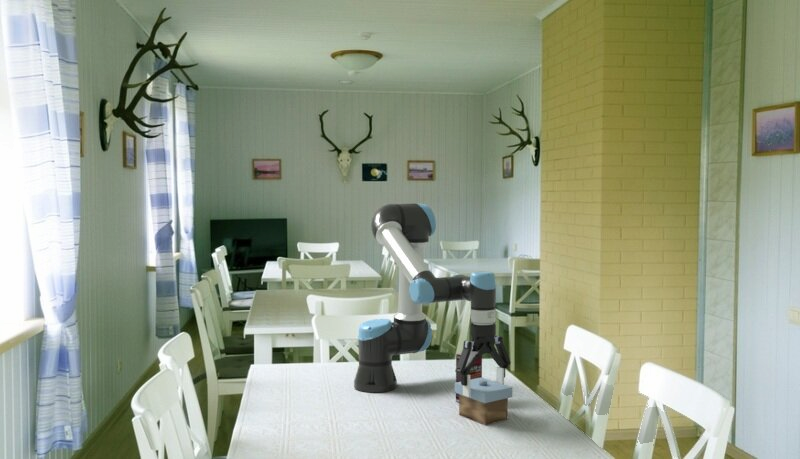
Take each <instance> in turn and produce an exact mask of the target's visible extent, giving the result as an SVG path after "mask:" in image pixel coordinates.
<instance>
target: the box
mask: <svg viewBox="0 0 800 459" xmlns="http://www.w3.org/2000/svg"><path fill="white" fill-rule="evenodd" d="M508 399H509V398H506V399H502V400H497V401H493V402H489V403H483V402H480V401H477V400H474V399H472V398H469V397H466V396H463V395H460V394H459V402H458V406H459V407H458V409H459V410H458V416H461V417H463V418H466V419H468V420H470V421H473V422H476V423H479V424H481V425H484V426H489V425H492V424H495V423H500V422H504V421H508V419H509V416H508V415H509V414H508V409H509V406H508V404H509V403H508V402H509V400H508Z"/></svg>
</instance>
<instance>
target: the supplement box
mask: <svg viewBox="0 0 800 459" xmlns="http://www.w3.org/2000/svg"><path fill="white" fill-rule="evenodd" d="M475 352H476V351H475ZM461 353H462V352H460V353H456V354H455V355H456V356H455V360H456V361H455V368H456V367H457V364H458V361H459V359H460V356H461ZM468 374H469V375H470V380H471V379H476V378H481V377H482V378H483V354H481V355H480V356H479V357H478V358H477V359H476V361H475V363H474V365H473V366H472V368H471V370H470V372H469V373H468ZM456 382H461V374H460V373H456V372H455V383H456ZM455 402H457V403H459V394H458V393H455Z"/></svg>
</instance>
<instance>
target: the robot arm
mask: <svg viewBox="0 0 800 459" xmlns="http://www.w3.org/2000/svg"><path fill="white" fill-rule="evenodd" d="M370 224H371V225H370V227H371V232H372V235H373V237H374V238H375V240H376V242H377V243H378V244H380V245H381V246H384V248H385V249H386V251H387V253H388V254H389V255H390V256H391V258H392V259H393V260H394V263H395V264H396V265H397V266H398V268H399V270H398V272H399V274H398V276H399V277H398V301H397V302H398V303H397V304H398V305H397V307H398V308H397V309H398V310H397V311H396V313H394V315H393V321H392V320H391V319H388V318H375V319H370V320H368V321H367V320H366V321H364V322H362V323H361V324H360V326H358V335H357V339H358V367H357V371H356V374H355V377H354V380H353V387H354V390H357V391H360V392H364V393H385V392H389V391H393V390H395V389H397V387H398V380H397V377H396V374H395V371H394V367H393V361H392V360H393V359H392V358H393V356H398V355H407V354H417V353H420V352H424V351H426V350H427V349H428V348H429V346H430V344H431V342H432V338H433V329H432V328H431V327H432V324H431V323H430V322H429V320H428V319H427V316H426V315H425V313H423V304H424V305H425V304H436V303H443V302H454V301H455V302H457V301H468V302H470V322H471V323H470V335H471V338H472V339H471V341H470V340H469V341H468V340H463V346H462V351H461V352H460V353H461V356H460V359H459V361H458V364H457V367H456V366H455V370H454V371H455V374H456V373H460V374H461V384H462V385H463V395H464V396H467V397H471V389H470V375H469V374H468V373H469V372H470V370H471V368H472V366H473V365H474V363H475V361H476V359H477V358H478V357H479V356H480V355H481V354H482V355H485V354H489V355H490V357H491V358H493V361H494V362H495V364H496V365H497V366H496V368H495V369H496V370H495V371H496V376H495V377H496V378H495V380H496V381H495V382H498V383H501V384H504V385H505V378H506V369H508V368H509V365H511V362H512V361H511V360H510V357H509V355H508V352H507V350H506V347H505V344H504V340H503V339H504V338H503V336H500V335H497V327H496V326H497V325H496V323H495V322H496V321H497V319H496V315H497V314H496V313H497V312H496V304H497V302H496V299H497V298H496V293H497V292H496V290H497V289H496V287H497V284H496V275H495V274H494V272H492V271H472V272H471V273H470V276H469V275H464V274H454V275H452V276H444V277H443V276H442V277H436V275H434V273H433V272H432V271H431V270H430V268H429V267H428V265H427V264H426V263H425V261H424V260H425V258H424V257H425V246H426V245H427V244H428V243H429V242H430V241H429V239H430V238H429V237H431V236H433V235H434V233H435V231H436V229H437V220H436V216H435V212H434V211H433V210H432V208H431V207H430V206H429V205H428V204H425V203H418V202H417V203H416V202H415V203H413V202H412V203H411V202H410V203H389V204H385V205H382V206H381V207H379V208H378V209H377V210H376V212H374V214H373V217H372V218H371V223H370ZM475 351H476V352H475Z"/></svg>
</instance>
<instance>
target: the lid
mask: <svg viewBox="0 0 800 459" xmlns="http://www.w3.org/2000/svg"><path fill="white" fill-rule="evenodd" d="M470 389H471V397H469V398H472V399H474V400H477V401H480V402H483V403H489V402H493V401H497V400H502V399H506V398H508V399H509V398H513V386H510V385H507V384H505V383H504V384H501V383H498V382H496V381H494V380H491V379H488V378H484V377H483V376H482V377H481V378H476V379H471V380H470ZM456 393H458V394H460V395H463V385H462V384H461V382H456V381H455V382H454V394H456ZM463 396H464V395H463ZM466 397H467V396H466Z"/></svg>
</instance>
